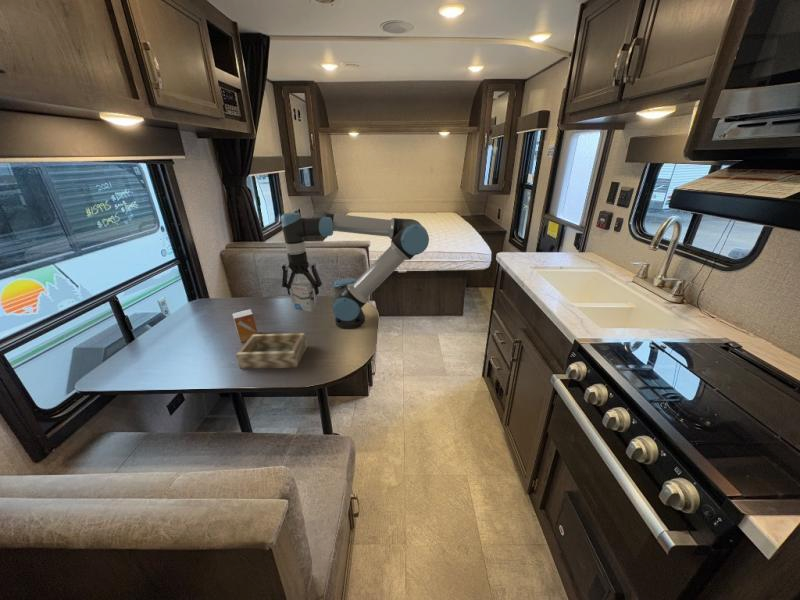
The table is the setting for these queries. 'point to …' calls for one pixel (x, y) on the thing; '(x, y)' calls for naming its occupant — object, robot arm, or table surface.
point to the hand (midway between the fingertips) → (304, 301)
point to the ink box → (303, 294)
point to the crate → (272, 351)
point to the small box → (245, 324)
